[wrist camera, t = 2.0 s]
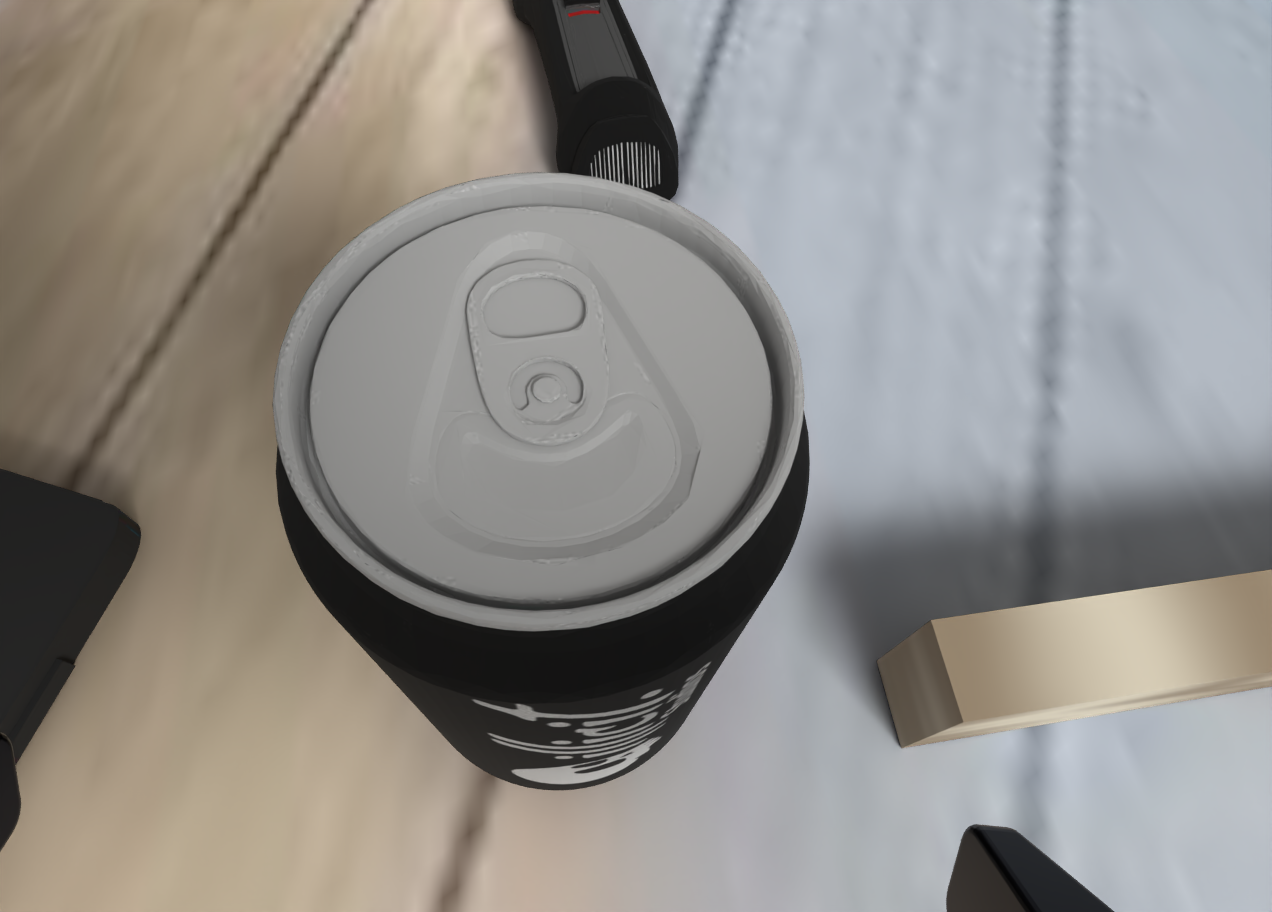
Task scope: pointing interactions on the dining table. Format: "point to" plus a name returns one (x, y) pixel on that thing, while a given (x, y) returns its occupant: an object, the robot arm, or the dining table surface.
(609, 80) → the electric trimmer
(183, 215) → the dining table surface
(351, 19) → the dining table surface
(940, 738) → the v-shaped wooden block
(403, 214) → the beverage can
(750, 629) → the dining table surface
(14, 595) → the smart home device
